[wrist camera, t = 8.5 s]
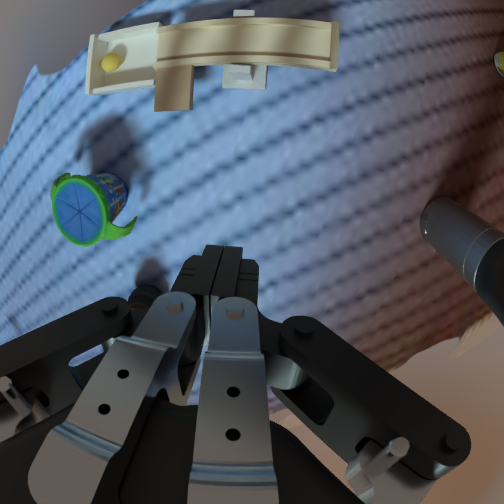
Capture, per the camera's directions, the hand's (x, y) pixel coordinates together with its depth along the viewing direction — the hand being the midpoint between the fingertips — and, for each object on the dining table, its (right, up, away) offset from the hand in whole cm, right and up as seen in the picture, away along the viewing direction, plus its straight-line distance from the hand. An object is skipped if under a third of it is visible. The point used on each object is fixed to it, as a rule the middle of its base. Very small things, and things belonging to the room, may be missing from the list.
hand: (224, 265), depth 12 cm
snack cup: (-23, +11, +31) cm, 40 cm away
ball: (-21, +29, +19) cm, 41 cm away
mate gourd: (-18, -8, +40) cm, 44 cm away
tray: (-17, +30, +21) cm, 40 cm away
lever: (0, +23, +16) cm, 28 cm away
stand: (0, +28, +20) cm, 35 cm away
